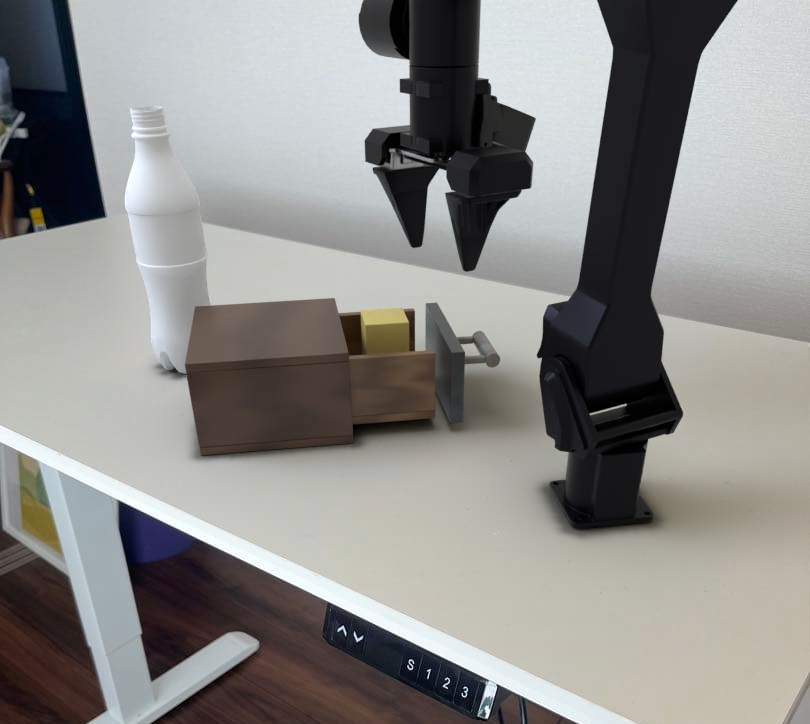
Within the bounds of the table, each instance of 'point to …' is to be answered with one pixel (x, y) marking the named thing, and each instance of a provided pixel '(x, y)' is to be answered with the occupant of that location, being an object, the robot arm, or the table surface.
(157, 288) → the water bottle
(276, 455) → the table surface
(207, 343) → the cabinet
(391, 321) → the block
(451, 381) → the drawer
